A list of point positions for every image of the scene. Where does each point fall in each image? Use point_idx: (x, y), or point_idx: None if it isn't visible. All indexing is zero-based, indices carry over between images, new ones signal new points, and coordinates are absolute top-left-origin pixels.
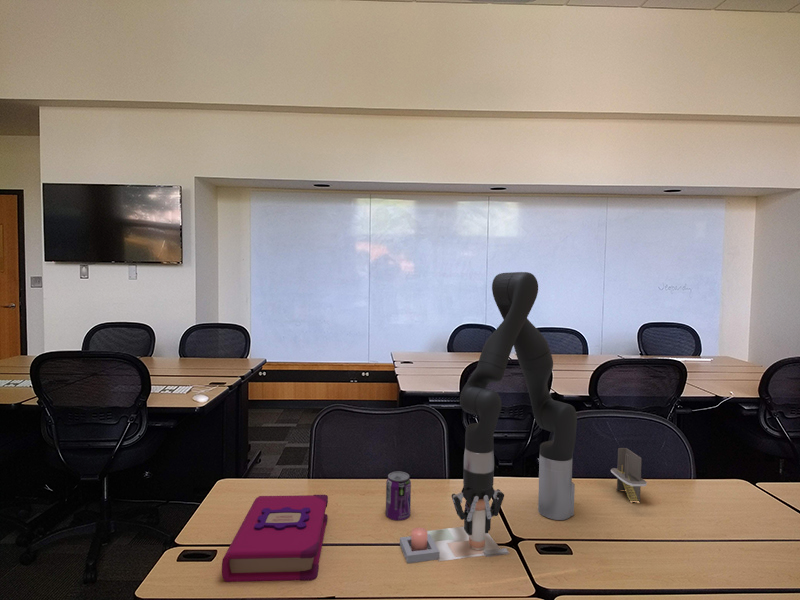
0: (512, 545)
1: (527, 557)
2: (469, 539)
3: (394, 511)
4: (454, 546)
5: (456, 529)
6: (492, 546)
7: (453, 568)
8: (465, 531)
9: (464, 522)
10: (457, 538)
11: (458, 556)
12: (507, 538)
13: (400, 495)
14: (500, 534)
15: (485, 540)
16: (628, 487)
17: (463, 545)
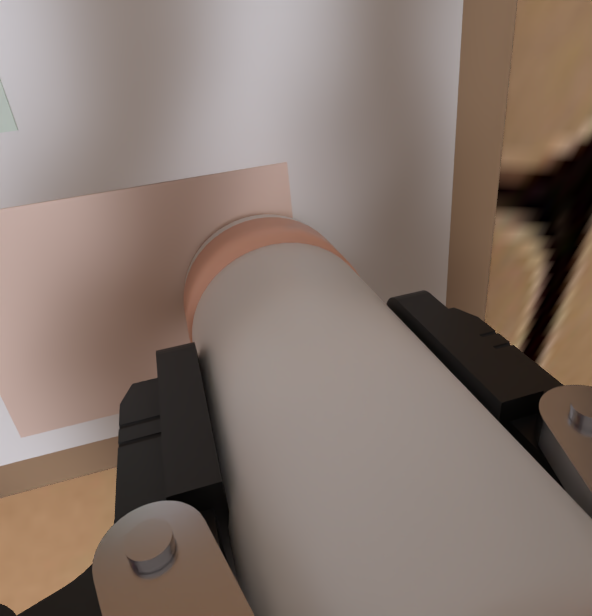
0: (559, 213)
1: (563, 349)
2: (190, 341)
3: None
4: (18, 288)
5: None
6: (398, 275)
7: (10, 507)
8: None
9: (120, 492)
10: (65, 119)
11: (56, 430)
12: (584, 101)
13: None
14: (568, 16)
15: (376, 177)
16: None
17: (126, 270)
